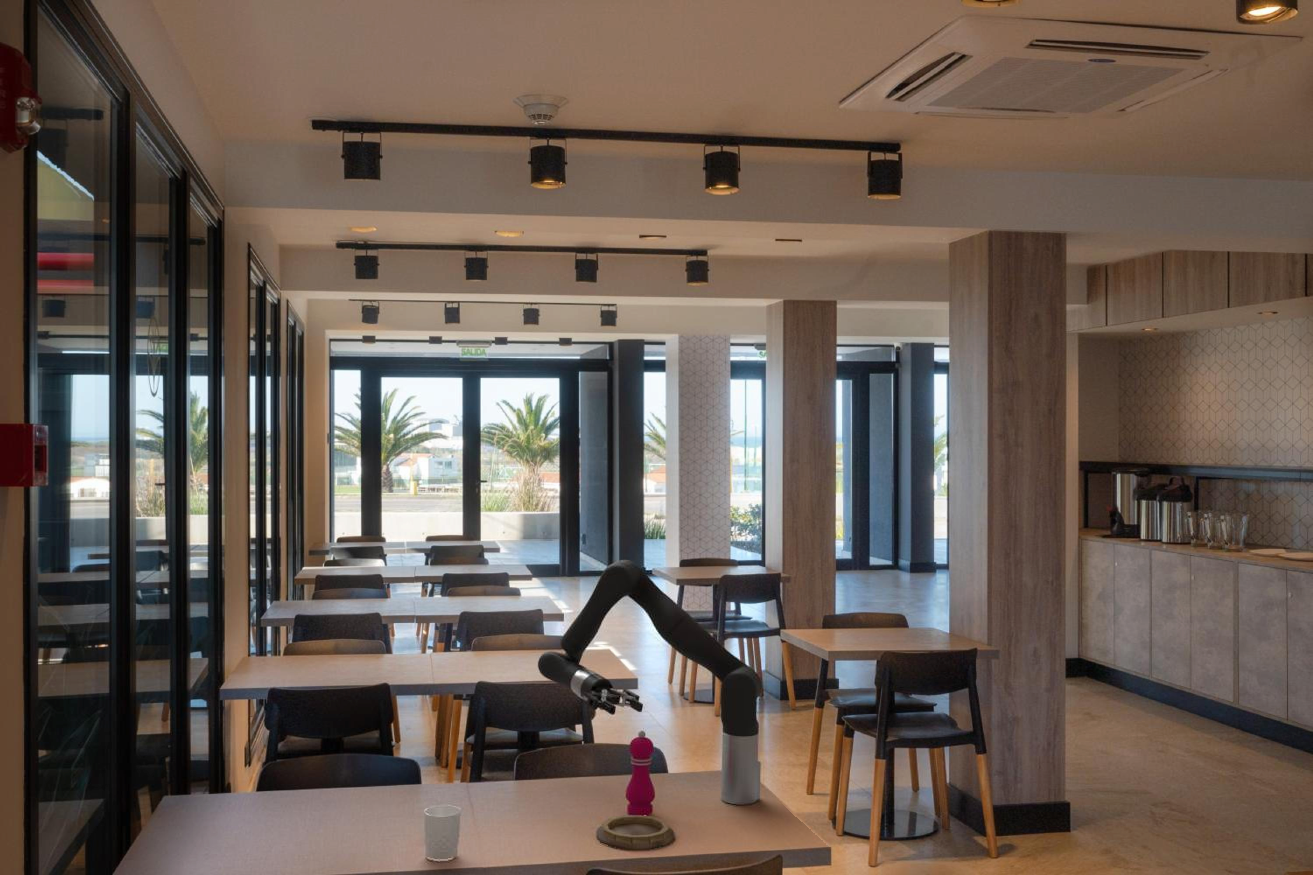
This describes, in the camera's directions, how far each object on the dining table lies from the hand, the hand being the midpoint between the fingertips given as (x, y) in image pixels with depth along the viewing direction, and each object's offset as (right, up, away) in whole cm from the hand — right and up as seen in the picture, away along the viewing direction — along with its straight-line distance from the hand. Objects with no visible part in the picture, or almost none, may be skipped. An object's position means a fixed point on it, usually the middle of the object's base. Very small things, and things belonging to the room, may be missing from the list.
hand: (628, 709), depth 294 cm
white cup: (-40, -23, -39) cm, 60 cm away
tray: (+2, -24, -23) cm, 33 cm away
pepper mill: (+3, -24, -6) cm, 25 cm away
